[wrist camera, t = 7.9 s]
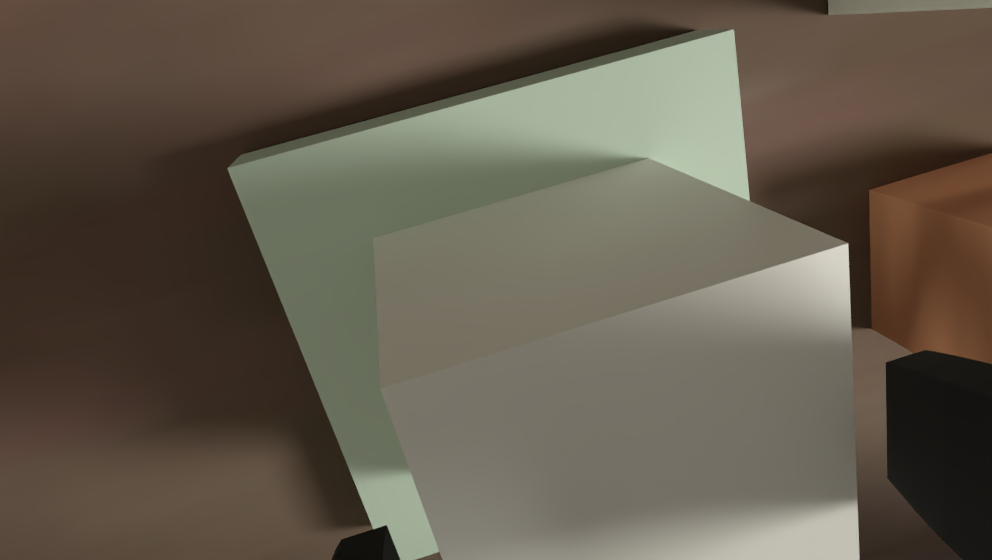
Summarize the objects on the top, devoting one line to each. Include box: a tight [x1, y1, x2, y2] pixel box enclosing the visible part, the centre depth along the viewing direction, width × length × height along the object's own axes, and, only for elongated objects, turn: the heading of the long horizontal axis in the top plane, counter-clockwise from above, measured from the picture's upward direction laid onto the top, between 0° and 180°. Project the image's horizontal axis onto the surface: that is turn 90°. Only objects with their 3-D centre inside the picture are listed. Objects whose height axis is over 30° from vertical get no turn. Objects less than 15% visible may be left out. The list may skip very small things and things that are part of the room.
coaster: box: [227, 29, 750, 560], centre depth 15 cm, size 10×10×2 cm
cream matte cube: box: [373, 158, 860, 560], centre depth 12 cm, size 6×6×6 cm
